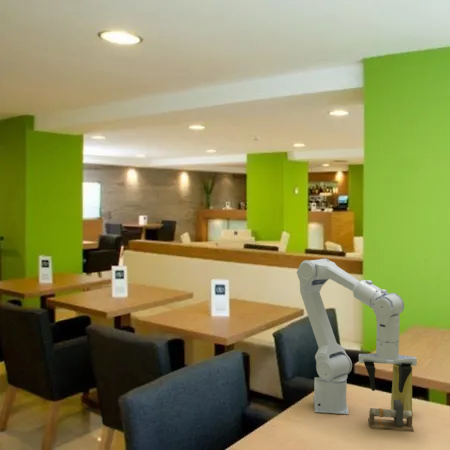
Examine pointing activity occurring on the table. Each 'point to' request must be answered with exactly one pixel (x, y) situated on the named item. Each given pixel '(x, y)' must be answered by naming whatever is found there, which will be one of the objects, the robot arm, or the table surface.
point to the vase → (407, 390)
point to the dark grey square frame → (398, 412)
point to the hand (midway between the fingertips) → (386, 390)
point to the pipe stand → (389, 423)
